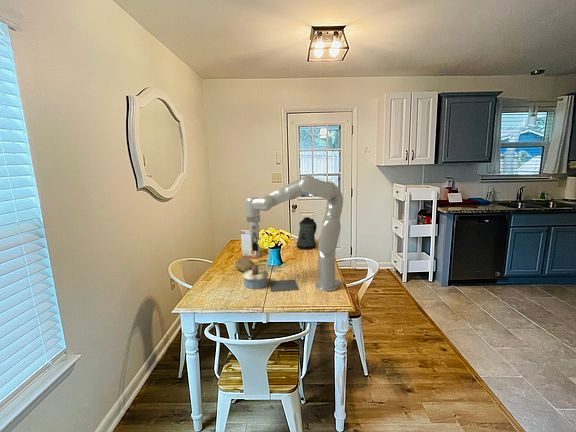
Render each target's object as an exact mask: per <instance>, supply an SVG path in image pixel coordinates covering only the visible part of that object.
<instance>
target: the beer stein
mask: <svg viewBox="0 0 576 432" xmlns="http://www.w3.org/2000/svg"><path fill="white" fill-rule="evenodd" d="M298 224H299V231H298V238H297V241H296V248H297V249H298V250H304V251H310V250H314V249H316V247H317V242H316V237H315V236H316V233H317V227H318V225H317V223H316V221H315V220H314V219H313V218H311V217H308V216H307V217H304V218H303V219H302V220H301V221H300V222H299V223H298Z"/></svg>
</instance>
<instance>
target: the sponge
mask: <svg viewBox="0 0 576 432" xmlns="http://www.w3.org/2000/svg"><path fill="white" fill-rule="evenodd" d="M252 265H253V260H252V258H250V257H245V256H241V257H240V258H239V259H237V260H236V262H235V268H236V269H237V270H238V271H241V272H243V273H244V272H246V271H249V270H252Z"/></svg>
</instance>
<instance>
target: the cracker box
mask: <svg viewBox="0 0 576 432" xmlns="http://www.w3.org/2000/svg"><path fill="white" fill-rule="evenodd" d="M259 232H260V233H261V231H260V229H259ZM240 233H241V234H240V242H241V257H247V258H250V259H258V258H261V245H260V246H259V244H258V239H257V244H258V251H252V240H251V237H250V229H249V228H243V229H242V228H241V230H240Z"/></svg>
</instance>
